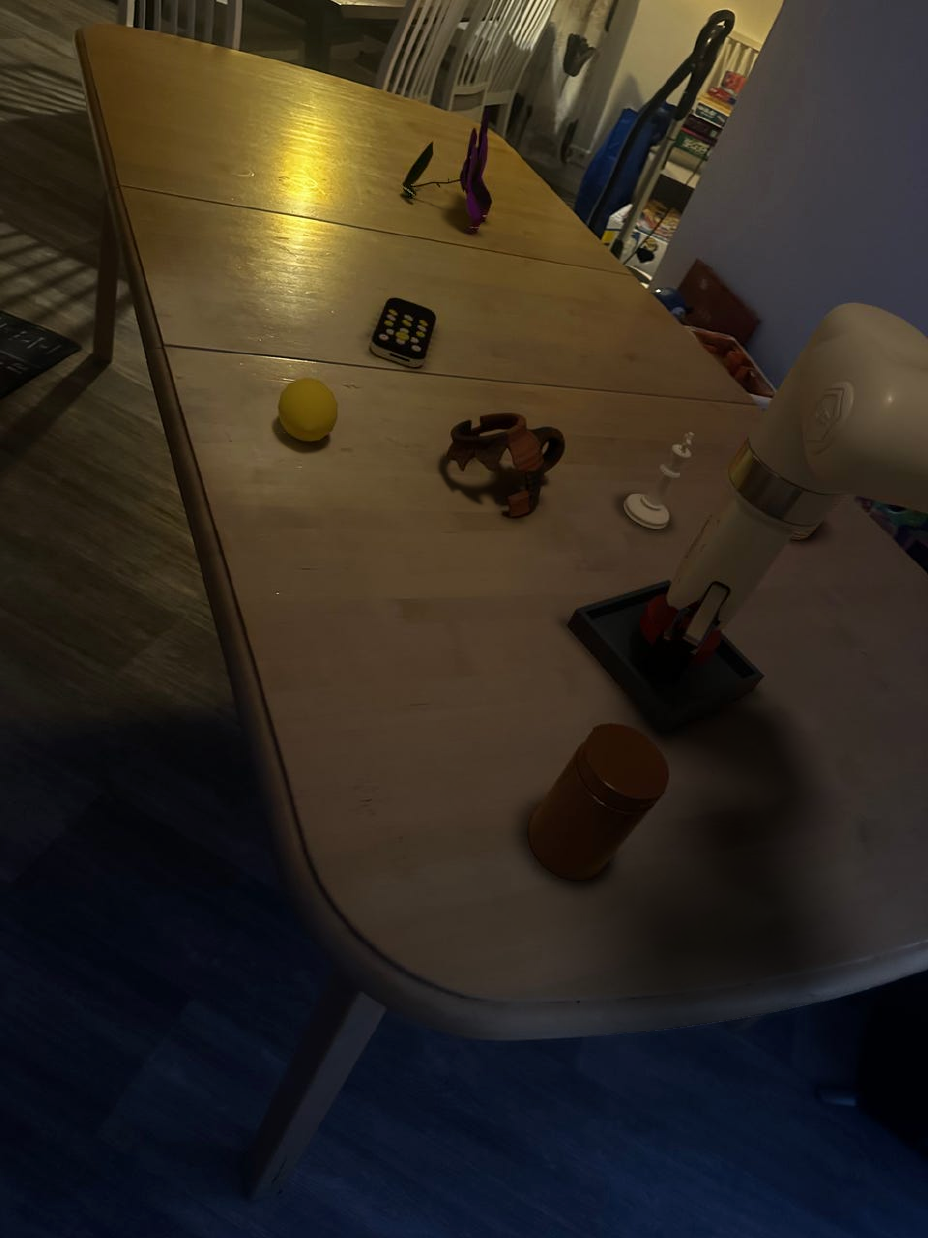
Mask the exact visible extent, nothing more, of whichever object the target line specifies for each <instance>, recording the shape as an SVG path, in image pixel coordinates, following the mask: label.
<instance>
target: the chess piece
mask: <svg viewBox="0 0 928 1238" xmlns="http://www.w3.org/2000/svg"><path fill="white" fill-rule="evenodd" d="M694 436H695V434H694V432H691V431H689V432H688V433H685V434H684V436H683V442H682V444H673V445H672V446H671V449H670V455H669V459H668V462H662V463H661V465H660V466H659V469H660V471H661V472H662V474H661V475H660V477H659V478H658V480H657V481H656V482H655V483H654V485H653V486H652V488H650V490H649V491H648V492H647V493H644V494H643V493H632V494H629V496H627V498H626V499H625V500H624V502H623V510H624V512H625V513H626V515H627V516H628V517H629V518H630V519H631V520H632V521H634V522H635V523H637V524H638V525H640V526H641V527H644V528H647V529H652V530H661V529H664V528H665V527H667V525H668V522H669V520H670V513H669V511H668V509H667V507H666V505H664V504H663V499H664V497H665V494H666V491H667V489H668V487H669V484H670V482H671V481H672V479H678V478H680V476H681V470H680V469H679V467H681V466H682V465H683V464H684V463H685V462H686V461H688V460H689V459H690V458H691V456H692V452H691V451H690V447H691V446H692V439H693V438H694Z"/></svg>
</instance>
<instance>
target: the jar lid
mask: <svg viewBox="0 0 928 1238" xmlns="http://www.w3.org/2000/svg"><path fill="white" fill-rule="evenodd" d="M689 606H690V607H692V608H694V609H696V610H697V608H698V606H699V604H697V603H695V602H694V603H692V604H690V605H689ZM677 612H678V609H676V608H674V607H673V606H672V607H670V606H669V605H668V603H667V594H662V595H658V596H656V597H654V598H653V599H652V600H651V601H650V602H649V604H648V606H647V607H646V609H645V611H644V612H643V614H642V616H641V619H640V626H641V630H642V632H643V634H644V636H645V638H646V639H647V641H648V642H649V643H650V644H651V645H652V644H653V643H654V641H655V640H656V638H657V637H658V635H659V634H660V632H661V631H662V630H664V631H665V632H666V630H667V628H668V627H669V625H670V623H671V622H672V620H673V618H674V617H675V615H676V613H677ZM690 621H691V618H690V617H688V616H686V615H685V616H684V618H683V620H682V621H681V623H680V625H679V626H678V628H680V627H682V628H684V629H685V627H686V626H687V625H688V624H689V622H690ZM713 627H714V626H713ZM713 627H712V629H711V630H710V632H709V634H708V635H707V637H706V638H705V640H704V642H703V643H702V645H701V646H700V648H699V650H698V653H697V654H696V656H695V657H694V658H693V660H692V661H691V663H690V664H699V663H703V662H705V661H707V660H708V659H709V658H710V657H711V656H712V654H713V653H714V651H715V650H716V649H717V647H718V646H719V644H720V643H721V639H722V634H723V632H722V629H721V630H713ZM678 628H677V629H678Z"/></svg>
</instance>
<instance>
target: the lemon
mask: <svg viewBox="0 0 928 1238" xmlns="http://www.w3.org/2000/svg"><path fill="white" fill-rule="evenodd" d="M288 383H289V382H288ZM338 404H339V403H338V402H337V400H336V397H335V395H334V392H333V391H332V390H331V389H330V388H329V387H328V386H327V385H326V384H325V383H324V382H323V381H322V380H319V379H315V378H311V377H303V378H300V379H297V380H295V381H292V382H290V383H289V384H287V386H285V388H284V389H283V390H282V391H281V392H280V396H279V399H278V405H277V411H278V416H279V421H280V424H281V425H282V427H283V428H284V430H285V431H286V432H287V433H288V434H289V435H290V436H292V437H294V438H295V439H297V440H300V441H303V442H316V441H320V440H322V439H323V438H324V437H325V436H326V435H328V434H330V433H331V432H333V430H334V428H335V425H336V423H337V421H338V417H339V416H338V411H339V410H338V409H339V408H338Z"/></svg>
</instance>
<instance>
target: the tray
mask: <svg viewBox="0 0 928 1238" xmlns="http://www.w3.org/2000/svg"><path fill="white" fill-rule="evenodd" d="M671 583H672V581H671V580H670V579H666V580H664V581H660V582H657V583H654V584H651V585H648V586H644V587H641V588H639V589H635V590H632V591H629V592H625V593H623V594H619V595H615V596H612V597H609V598H607V599H604V600H600V601H596V602H593V603H591V604H587V605H584V606H581V607H578V608H576V609H575V610H574V612H573V613H572V615H571V617H570V619H569V621H568V623H567V624H566V625H567V627H568V628H569V629H570V630H571V631H572V632H573V634H574V635H575V636H576V637H577V639H579V640H580V641H581V643H582V644H583V645H584V646H585V648H587V649H588V651H589V652H590V653H591V654H592V655H593V657H595V659H596V660H597V661H598V663H600V664H601V665H602V667H603V668H604V669H605V670H606V671H607V672H608V673H609V674H610V676H612V678H613V679H614V680H615V682H616V683H618V685H619V686H620V687H621V688H622V689H623V690H624V692H626V694H627V696H629V697H630V698H631V700H632V701H633V702H634V703H635V704H636V705H637V707H638V708H639V709H640V710H641V711H642V712H643V713H644V714H645V715H646V717H647V718H648V719H649V720H650V722H651V723H653V725H654V726H655V727H656V728H657V729H658V730H659V732H660V733H661V734H664V733H666V732H668V731H670V730H673V729H674V728H676V727H679V726H681V725H683V724H685V723H687V722H689V721H691V720H693V719H696V718H699V717H700V716H702V715H704V714H707V713H708V712H711V711H713V710H714V709H716V708H719V707H720V706H723V705H725V704H727V703H729V702H732V701H733V700H735V699H737V698H740V697H742V696H744V695H746V694H748V693H750V692H753V691H754V689H755V688H756V687H757V686H758V684H760V682H761V681H762V680H763V679H764V677H765V675H764V673H762V671H760V670H759V669H758V668H757V666H755V664H753V663H752V662H751V660H749V658H748V657H746V656H745V654H743V653H742V651H740V650H739V648H738V647H736V646H735V645H734V643H733V642H732V641H731V640H730V639H729V638H727V636H726V635H725V634H723V633H722V639H721V643H720V644H719V646H718V647H717V649H716V650H715V651H714V653H713V654H712V656H711V657H710V658H709V659H708V660H707V661H705V662H703V663H699V664H689V665H688V667H687V668H686V669H685V671H684V672H683V673H682V675H681V676H680V677H679V679H678V680H677V682H676V683H675V684H669V683H667V682H666V681H664V680H662V679H660V678H658V677H657V676H655V675H653V674H651V673H649V672H648V671H646V670H644V669H642V668H641V667H640V663H641V661H642V659H643V657H644V656H645V654H646V653H647V651H648V650H649V648H650V647H651V646H652V645H651V644H650V643H649V642H648V641H647V639H646V638H645V636H644V634H643V632H642V630H641V626H640V619H641V616H642V614H643V612H644V611H645V609H646V607H647V606H648V604H649V602H650V601H651V600H652V599H653V598H654V597H656V596H658V595H662V594H667V593H668V591H669V588H670V586H671Z"/></svg>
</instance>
